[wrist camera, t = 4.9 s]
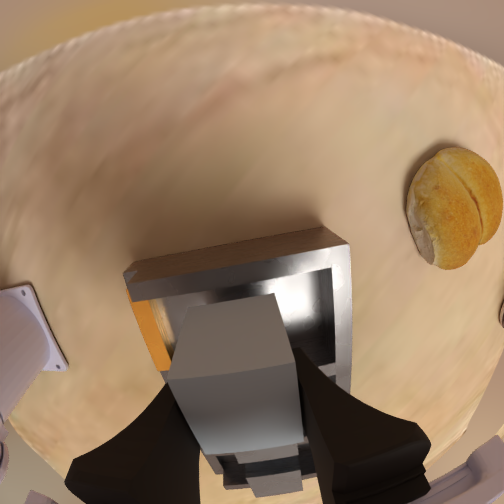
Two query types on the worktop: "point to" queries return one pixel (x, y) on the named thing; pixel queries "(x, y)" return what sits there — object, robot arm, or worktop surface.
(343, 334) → the rack
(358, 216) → the worktop surface
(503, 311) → the supplement bottle
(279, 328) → the grey block
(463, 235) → the bread roll
